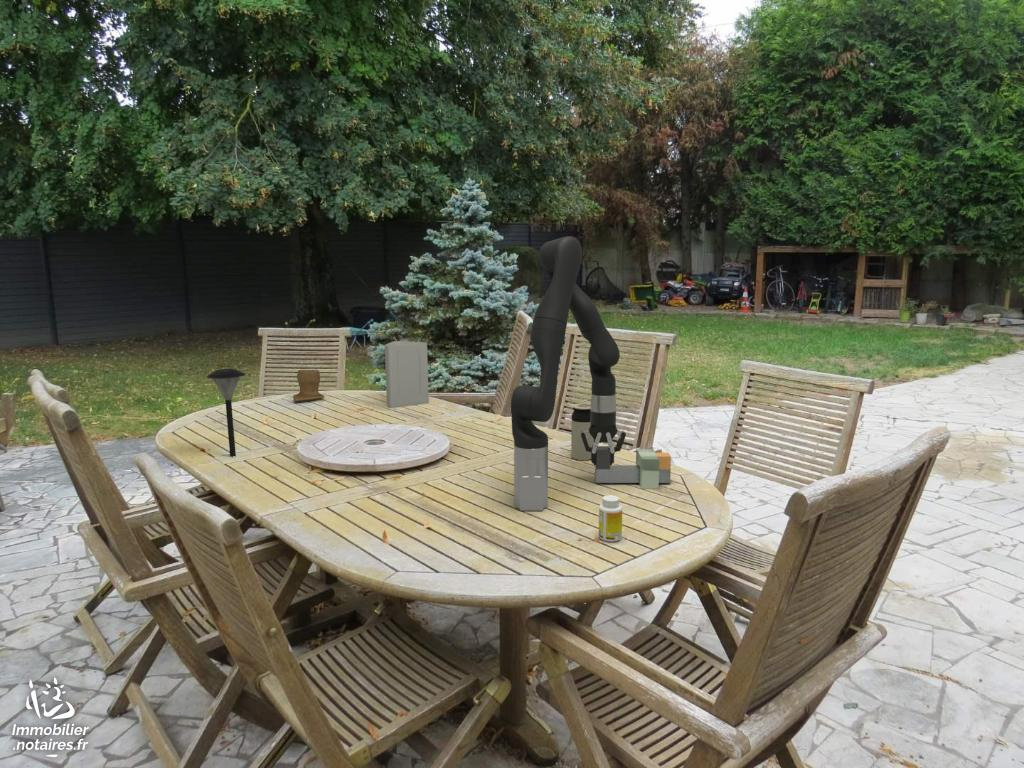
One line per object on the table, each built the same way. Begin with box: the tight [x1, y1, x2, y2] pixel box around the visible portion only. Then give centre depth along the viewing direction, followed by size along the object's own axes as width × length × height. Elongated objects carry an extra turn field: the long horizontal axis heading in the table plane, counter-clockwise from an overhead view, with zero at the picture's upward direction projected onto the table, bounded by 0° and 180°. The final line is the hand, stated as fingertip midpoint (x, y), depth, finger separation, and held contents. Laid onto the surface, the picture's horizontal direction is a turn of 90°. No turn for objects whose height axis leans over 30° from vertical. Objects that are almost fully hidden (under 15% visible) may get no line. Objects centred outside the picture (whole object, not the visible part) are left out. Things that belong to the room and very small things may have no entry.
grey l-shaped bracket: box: [594, 445, 672, 484], centre depth 206 cm, size 4×22×10 cm, turn 89°
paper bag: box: [384, 340, 430, 409], centre depth 317 cm, size 19×15×28 cm
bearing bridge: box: [635, 448, 660, 490], centre depth 206 cm, size 11×5×9 cm, turn 179°
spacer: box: [655, 452, 672, 470], centre depth 206 cm, size 4×4×4 cm
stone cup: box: [292, 369, 325, 403], centre depth 325 cm, size 15×12×15 cm
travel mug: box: [570, 402, 594, 461], centre depth 231 cm, size 8×8×18 cm
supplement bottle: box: [598, 494, 623, 543], centre depth 166 cm, size 6×6×10 cm
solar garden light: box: [206, 368, 246, 457], centre depth 233 cm, size 12×12×30 cm
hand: (602, 464), depth 206 cm, fingers closed on grey l-shaped bracket, 4 cm apart
